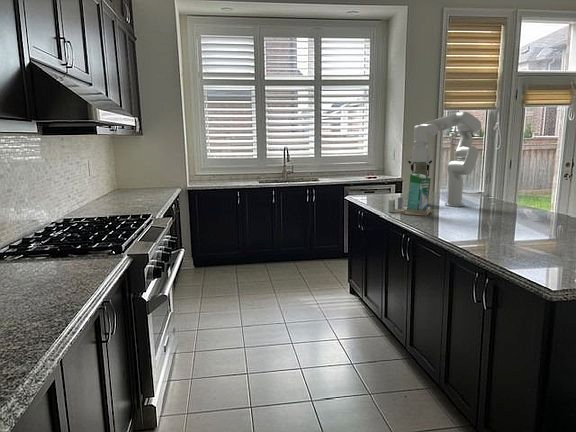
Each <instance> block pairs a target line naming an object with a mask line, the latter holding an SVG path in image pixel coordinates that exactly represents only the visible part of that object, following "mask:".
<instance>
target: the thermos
mask: <svg viewBox="0 0 576 432" xmlns="http://www.w3.org/2000/svg"><path fill="white" fill-rule="evenodd" d="M430 164H431V163H430ZM430 164H429V168H430ZM413 165H415V167H414V168H415V169H414V170H413V171H412V170H411V171H412V172H411V174H422V175H425V176H426V177H428V178H429V176H430V169H429V170H428V171H427V163H426V162H414V163H413Z"/></svg>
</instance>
